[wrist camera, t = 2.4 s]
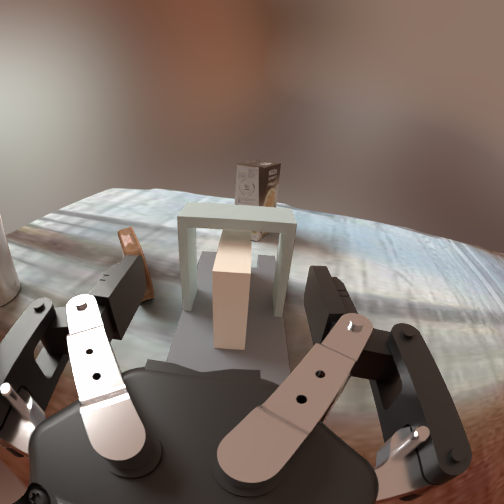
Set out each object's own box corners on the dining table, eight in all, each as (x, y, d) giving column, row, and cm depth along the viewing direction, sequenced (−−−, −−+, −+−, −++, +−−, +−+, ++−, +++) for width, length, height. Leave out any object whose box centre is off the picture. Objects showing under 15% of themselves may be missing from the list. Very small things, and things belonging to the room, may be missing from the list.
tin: (158, 309, 36) (151, 257, 32) (137, 314, 35) (127, 262, 31) (137, 261, 47) (132, 219, 43) (121, 265, 46) (115, 222, 42)
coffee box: (258, 242, 58) (265, 167, 51) (232, 235, 60) (235, 163, 53) (274, 228, 65) (281, 162, 58) (250, 223, 68) (255, 159, 60)
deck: (142, 484, 15) (136, 479, 14) (202, 261, 49) (202, 251, 48) (297, 497, 15) (302, 493, 14) (273, 265, 50) (274, 256, 49)
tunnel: (183, 310, 34) (177, 216, 28) (190, 288, 38) (187, 202, 32) (281, 316, 34) (296, 223, 28) (278, 294, 38) (290, 208, 33)
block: (213, 347, 28) (212, 271, 24) (226, 269, 44) (228, 209, 39) (244, 350, 29) (250, 273, 24) (247, 270, 44) (251, 210, 39)
